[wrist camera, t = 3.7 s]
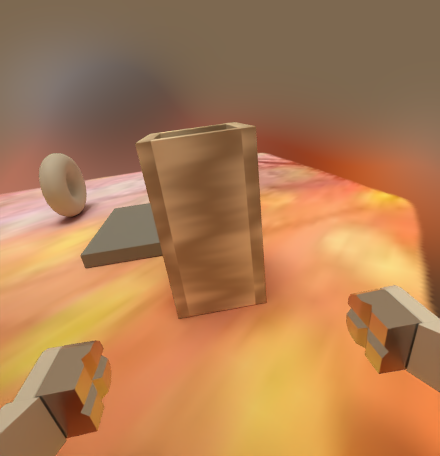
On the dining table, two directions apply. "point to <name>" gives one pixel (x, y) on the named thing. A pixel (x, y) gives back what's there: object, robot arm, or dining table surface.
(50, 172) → the donut
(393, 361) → the robot arm
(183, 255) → the sleeve
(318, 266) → the dining table surface
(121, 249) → the post board
